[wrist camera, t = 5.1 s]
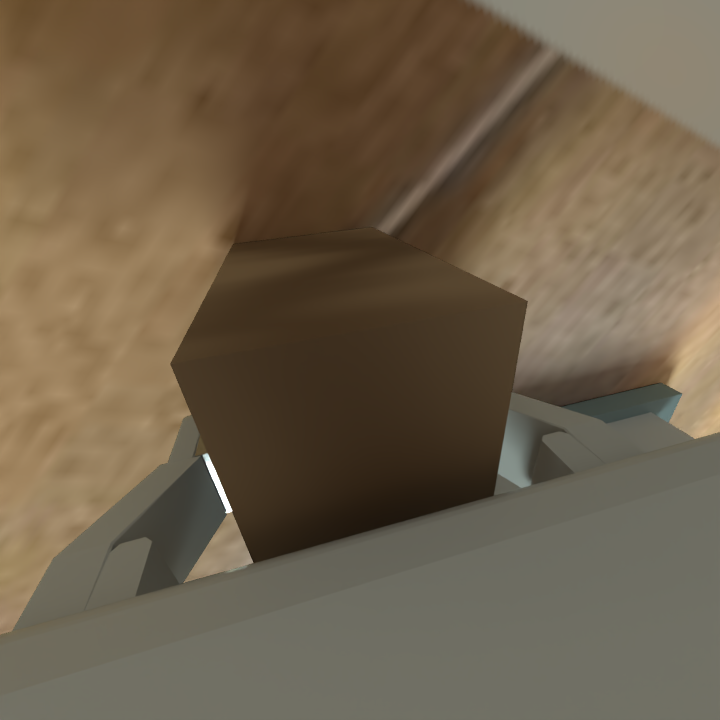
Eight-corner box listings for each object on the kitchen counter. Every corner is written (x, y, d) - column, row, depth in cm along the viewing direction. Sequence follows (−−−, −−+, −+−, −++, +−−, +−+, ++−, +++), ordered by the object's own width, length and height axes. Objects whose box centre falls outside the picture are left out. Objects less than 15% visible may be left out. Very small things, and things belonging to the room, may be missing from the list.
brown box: (371, 226, 10) (527, 301, 4) (384, 431, 14) (471, 623, 8) (225, 245, 9) (148, 368, 3) (282, 455, 13) (293, 684, 7)
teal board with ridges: (661, 382, 17) (732, 419, 14) (577, 574, 25) (612, 619, 23) (416, 441, 15) (448, 498, 12) (416, 629, 23) (434, 685, 21)
